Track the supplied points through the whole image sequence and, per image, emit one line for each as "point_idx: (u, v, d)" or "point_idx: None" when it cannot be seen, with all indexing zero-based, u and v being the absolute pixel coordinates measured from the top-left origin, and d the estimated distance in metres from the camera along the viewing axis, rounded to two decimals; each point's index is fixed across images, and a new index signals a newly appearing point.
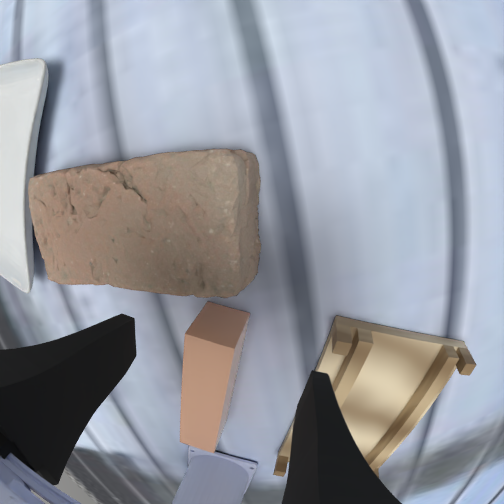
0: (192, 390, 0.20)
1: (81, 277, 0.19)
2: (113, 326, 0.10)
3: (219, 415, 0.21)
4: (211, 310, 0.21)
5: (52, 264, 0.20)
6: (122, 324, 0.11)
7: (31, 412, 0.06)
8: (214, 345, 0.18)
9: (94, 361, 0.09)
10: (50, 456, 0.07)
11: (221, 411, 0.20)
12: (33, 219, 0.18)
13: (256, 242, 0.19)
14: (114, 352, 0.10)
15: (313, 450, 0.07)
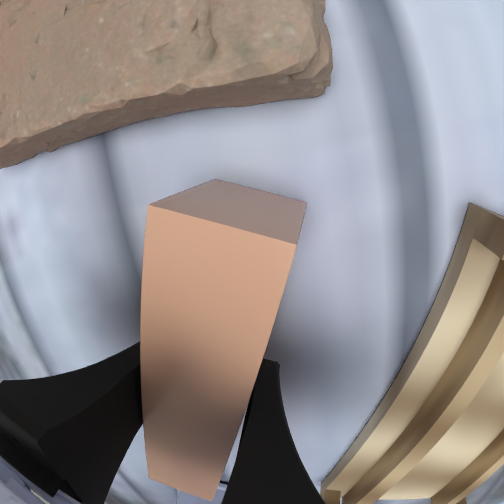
0: (166, 383, 0.08)
1: None
2: None
3: (229, 442, 0.09)
4: (222, 188, 0.09)
5: None
6: None
7: (82, 446, 0.06)
8: (232, 236, 0.06)
9: (140, 382, 0.09)
10: (96, 485, 0.06)
11: (234, 434, 0.08)
12: None
13: None
14: None
15: None
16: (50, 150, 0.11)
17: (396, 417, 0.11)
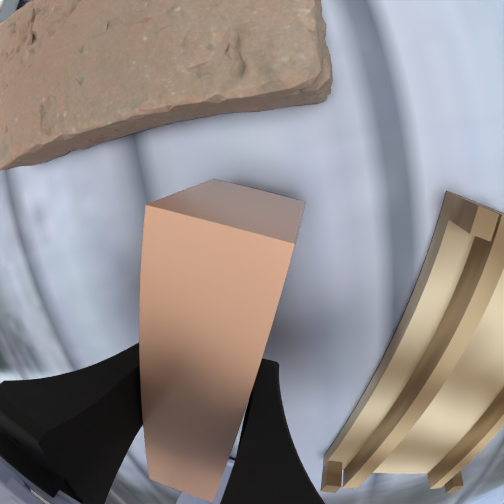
0: (165, 383, 0.08)
1: (25, 138, 0.09)
2: None
3: (229, 443, 0.08)
4: (220, 188, 0.09)
5: None
6: None
7: (83, 446, 0.06)
8: (230, 236, 0.06)
9: None
10: (97, 485, 0.06)
11: (234, 435, 0.08)
12: None
13: (324, 43, 0.09)
14: None
15: None
16: (84, 148, 0.13)
17: (390, 383, 0.13)
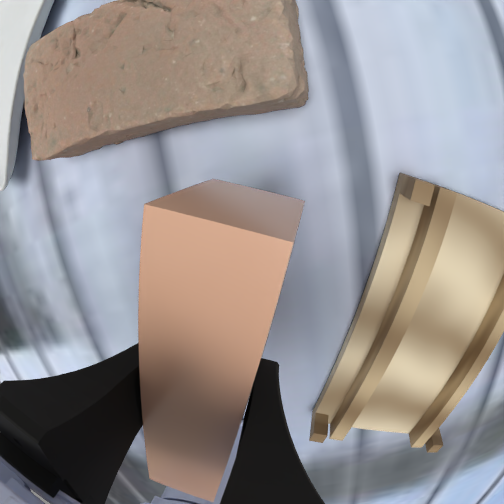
0: (165, 383, 0.08)
1: (74, 133, 0.13)
2: None
3: (228, 443, 0.08)
4: (219, 187, 0.09)
5: (40, 133, 0.14)
6: None
7: (83, 446, 0.06)
8: (228, 235, 0.06)
9: None
10: (97, 485, 0.06)
11: (234, 435, 0.08)
12: (26, 86, 0.13)
13: (303, 62, 0.13)
14: None
15: None
16: (117, 143, 0.17)
17: (363, 332, 0.17)
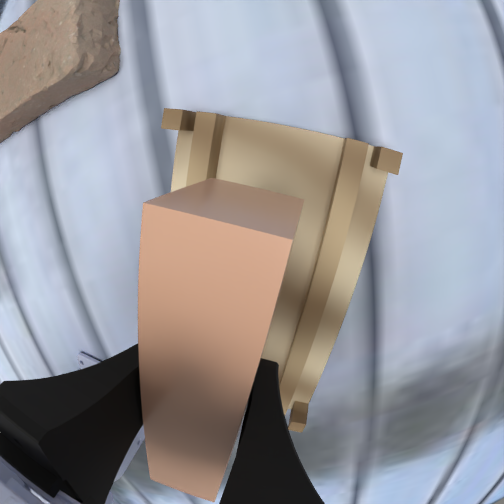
0: (165, 382, 0.08)
1: None
2: None
3: (229, 442, 0.08)
4: (218, 186, 0.09)
5: None
6: None
7: (83, 446, 0.06)
8: (227, 233, 0.06)
9: None
10: (97, 485, 0.06)
11: (234, 434, 0.08)
12: None
13: (111, 41, 0.14)
14: None
15: None
16: (16, 130, 0.18)
17: None
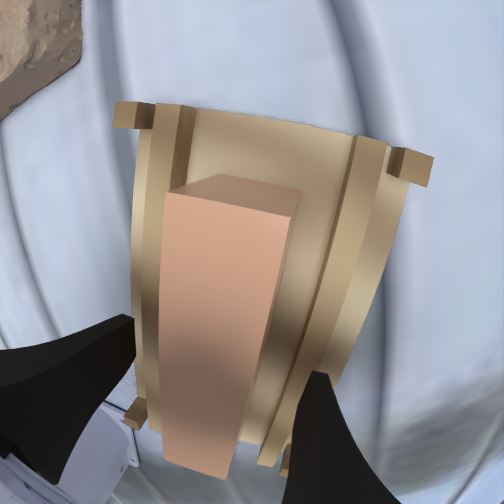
0: (182, 353, 0.09)
1: None
2: (113, 326, 0.10)
3: (240, 410, 0.10)
4: (226, 180, 0.11)
5: None
6: (122, 324, 0.11)
7: (31, 412, 0.06)
8: (236, 213, 0.07)
9: (94, 361, 0.09)
10: (50, 456, 0.07)
11: (245, 401, 0.10)
12: None
13: (72, 25, 0.11)
14: (114, 352, 0.10)
15: (313, 450, 0.07)
16: None
17: (141, 301, 0.15)
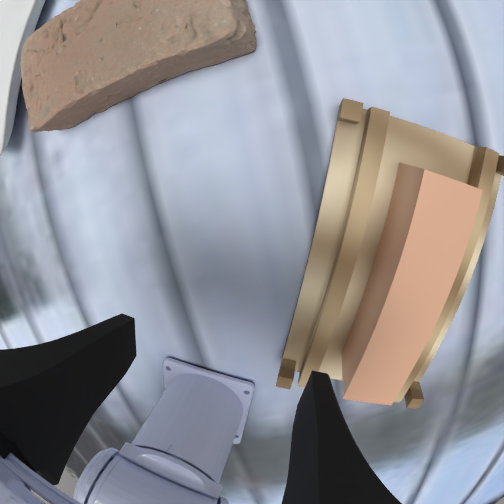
0: (410, 280, 0.13)
1: (63, 99, 0.15)
2: (113, 326, 0.10)
3: (433, 323, 0.13)
4: None
5: (36, 106, 0.15)
6: (122, 324, 0.11)
7: (31, 412, 0.06)
8: (460, 186, 0.11)
9: (94, 361, 0.09)
10: (50, 456, 0.07)
11: (438, 314, 0.13)
12: (22, 72, 0.15)
13: (248, 16, 0.14)
14: (114, 352, 0.10)
15: (313, 450, 0.07)
16: (102, 110, 0.19)
17: (319, 261, 0.18)
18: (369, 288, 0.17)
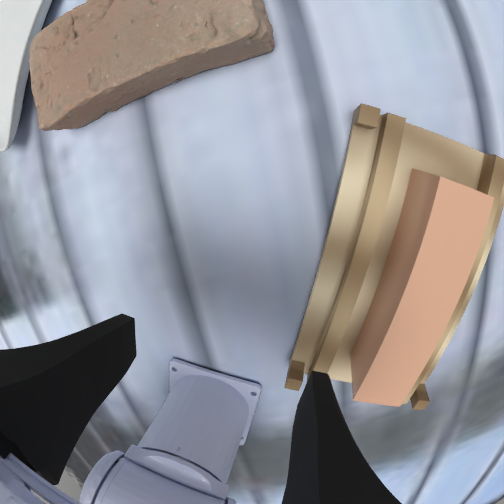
0: (423, 284, 0.13)
1: (76, 96, 0.15)
2: (113, 326, 0.10)
3: (444, 326, 0.13)
4: None
5: (46, 104, 0.15)
6: (122, 324, 0.11)
7: (31, 412, 0.06)
8: (473, 193, 0.11)
9: (94, 361, 0.09)
10: (50, 456, 0.07)
11: (449, 317, 0.13)
12: (31, 69, 0.14)
13: (266, 16, 0.14)
14: (114, 352, 0.10)
15: (313, 450, 0.07)
16: (114, 109, 0.18)
17: (331, 264, 0.18)
18: (380, 291, 0.17)
